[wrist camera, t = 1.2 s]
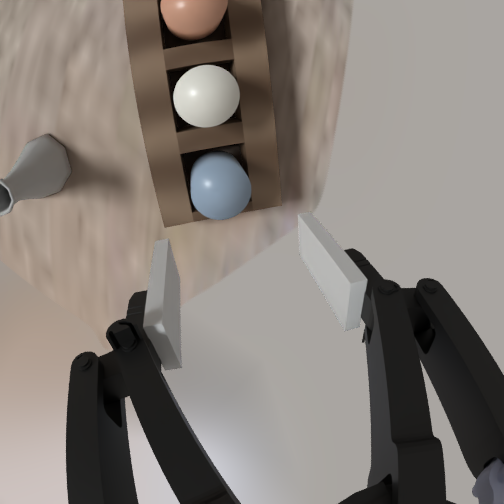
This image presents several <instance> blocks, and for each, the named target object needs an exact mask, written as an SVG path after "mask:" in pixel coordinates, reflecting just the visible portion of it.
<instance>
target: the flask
mask: <svg viewBox="0 0 504 504" xmlns="http://www.w3.org/2000/svg"><path fill="white" fill-rule="evenodd" d="M71 172H72V170H71V167H70V164H69V160H68V157H67V153H66V150H65V147H64V146H62V145H61V144H60V143H58V142H57V141H56V140H55V139H53V138H52V137H51V136H50V135H48V134H45V135H43V136H40V137H38V138H36V139H34V140H32V141H30V142H28V143H27V144H26V146H25V147H24V149H23V151H22V153H21V154H20V156H19V158H18V160H17V161H16V163H15V165H14V166H13V168H12V170H11V171H10V172H9V174H8V175H7V176H6V177H5V178H4V179H0V216H3V215H5V214H8V213H10V212H11V211H12V208H13V206H14V204H15V203H17V202H18V201H20V200H26V199H40V198H43V197H46V196H49V195H51V194H54V193H57V192H60V191H61V189H62V187H63V185H64V184H65V182H66V180H67V179H68V177H69V175H70V174H71Z"/></svg>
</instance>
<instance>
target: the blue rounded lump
mask: <svg viewBox="0 0 504 504" xmlns="http://www.w3.org/2000/svg"><path fill="white" fill-rule="evenodd" d="M250 197H251V183H250V180H249V178H248V176H247V175H246V173H245V171H244V170H243V168H242V167H241V165H240V163H239V162H238V160H237V159H236V158H235V157H234V156H233V155H231V154H230V153H228V152H225V151H220V150H215V151H210V152H207V153H205V154H203V155H201V156H200V157H199V158H198V159H197V160H196V161H195V163H194V164H193V167H192V170H191V198H192V202H193V204H194V206H195V207H196V209H197V210H198V211H199V212H200V213H201V214H203V215H204V216H206V217H208V218H211V219H216V220H224V219H229V218H232V217H234V216H236V215H237V214H239V213H240V212H241V211H243V209H244V208H245V207H246V206H247V204H248V202H249V200H250Z"/></svg>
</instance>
